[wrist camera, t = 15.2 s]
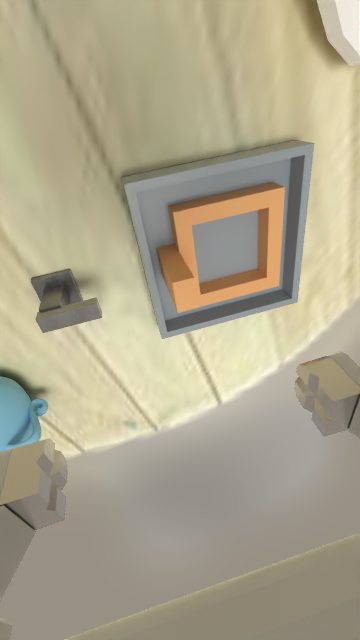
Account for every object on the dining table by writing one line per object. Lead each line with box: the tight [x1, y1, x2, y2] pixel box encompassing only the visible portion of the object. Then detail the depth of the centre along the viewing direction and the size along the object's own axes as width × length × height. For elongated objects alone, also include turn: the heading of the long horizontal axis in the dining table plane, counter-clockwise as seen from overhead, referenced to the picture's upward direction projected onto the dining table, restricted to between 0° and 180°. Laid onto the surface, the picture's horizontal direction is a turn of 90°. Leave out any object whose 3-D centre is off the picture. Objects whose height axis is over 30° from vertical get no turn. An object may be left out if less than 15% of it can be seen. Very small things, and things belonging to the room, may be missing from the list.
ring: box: [156, 182, 285, 313], centre depth 38 cm, size 16×14×10 cm
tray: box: [121, 140, 314, 339], centre depth 41 cm, size 22×22×4 cm
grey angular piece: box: [31, 269, 102, 333], centre depth 38 cm, size 5×8×8 cm, turn 98°
